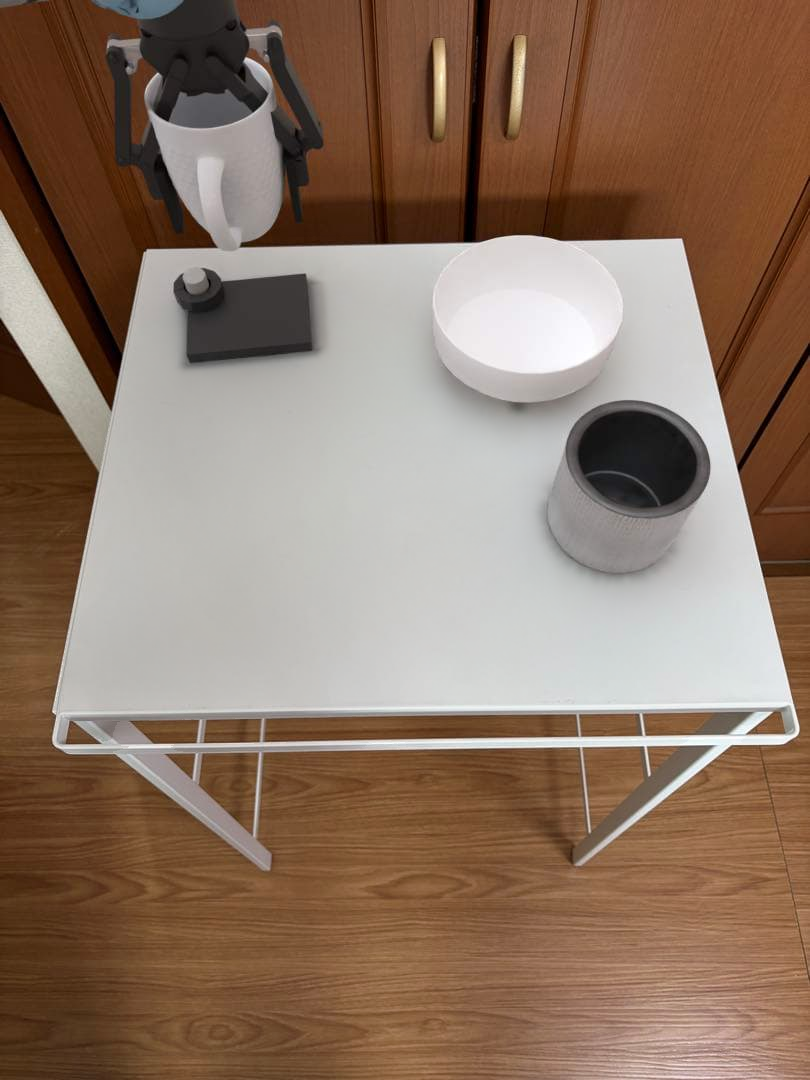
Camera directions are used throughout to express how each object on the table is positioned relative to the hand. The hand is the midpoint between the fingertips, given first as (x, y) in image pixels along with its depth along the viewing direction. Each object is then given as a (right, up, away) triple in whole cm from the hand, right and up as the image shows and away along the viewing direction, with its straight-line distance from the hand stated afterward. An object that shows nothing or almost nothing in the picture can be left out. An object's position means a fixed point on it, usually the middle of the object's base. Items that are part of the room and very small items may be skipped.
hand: (239, 218), depth 73 cm
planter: (+36, -30, +1) cm, 47 cm away
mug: (0, -1, +1) cm, 1 cm away
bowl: (+29, -11, +11) cm, 33 cm away
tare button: (-8, -2, +14) cm, 16 cm away
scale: (-2, -6, +15) cm, 16 cm away
